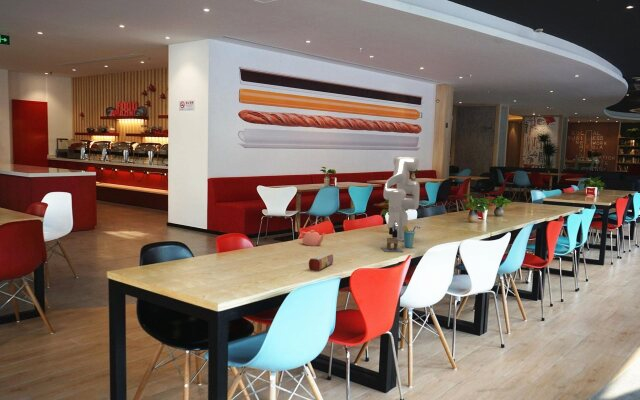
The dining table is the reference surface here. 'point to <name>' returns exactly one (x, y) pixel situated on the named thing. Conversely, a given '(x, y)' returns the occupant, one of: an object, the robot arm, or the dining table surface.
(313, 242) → the teapot
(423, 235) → the dining table surface
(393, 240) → the brown box with pegs
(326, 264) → the snack package
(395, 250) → the mat
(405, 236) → the cup
